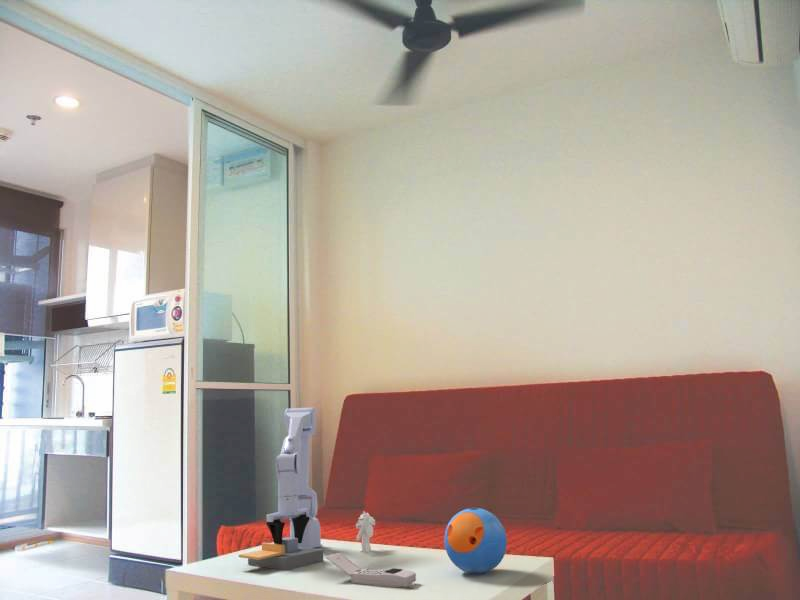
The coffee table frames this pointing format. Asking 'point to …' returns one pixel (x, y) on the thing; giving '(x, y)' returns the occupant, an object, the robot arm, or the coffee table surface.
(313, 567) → the coffee table surface
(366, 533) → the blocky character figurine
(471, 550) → the treat dispenser ball
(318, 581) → the coffee table surface
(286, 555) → the socket base
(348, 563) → the mobile phone
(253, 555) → the panel
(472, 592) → the coffee table surface
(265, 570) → the coffee table surface
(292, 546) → the grey rectangular block
